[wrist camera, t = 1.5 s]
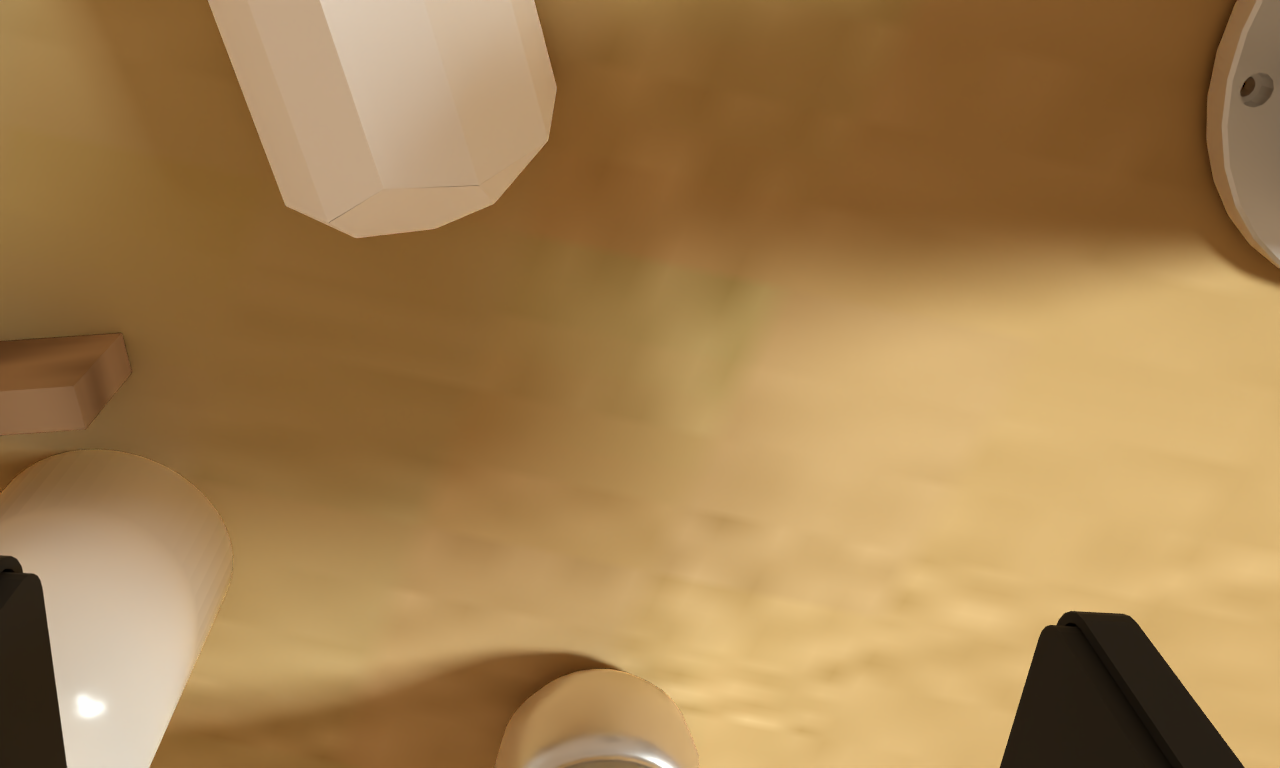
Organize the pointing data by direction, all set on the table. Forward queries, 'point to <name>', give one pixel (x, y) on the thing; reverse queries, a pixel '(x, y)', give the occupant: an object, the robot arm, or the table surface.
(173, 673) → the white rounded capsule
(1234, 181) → the robot arm
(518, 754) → the plastic bottle
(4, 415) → the tray
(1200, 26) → the table surface
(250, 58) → the white chamfered bar
